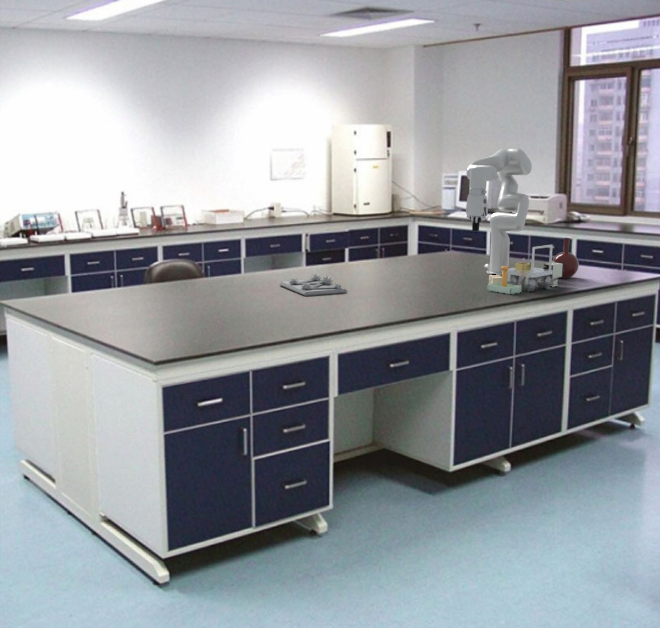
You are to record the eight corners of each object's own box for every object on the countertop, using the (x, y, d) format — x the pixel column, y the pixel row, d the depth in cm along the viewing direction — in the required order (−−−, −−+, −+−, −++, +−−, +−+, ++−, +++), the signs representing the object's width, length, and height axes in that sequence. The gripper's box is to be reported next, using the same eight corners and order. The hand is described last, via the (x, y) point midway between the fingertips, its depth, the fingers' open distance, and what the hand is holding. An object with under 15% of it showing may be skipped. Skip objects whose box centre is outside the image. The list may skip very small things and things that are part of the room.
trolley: (501, 288, 414) (504, 243, 409) (522, 284, 424) (524, 241, 420) (532, 293, 401) (534, 247, 397) (552, 289, 412) (555, 244, 408)
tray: (486, 290, 406) (487, 284, 406) (497, 288, 412) (498, 282, 411) (510, 294, 397) (510, 288, 396) (521, 292, 402) (521, 286, 402)
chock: (488, 284, 424) (489, 275, 423) (499, 284, 424) (499, 275, 423) (492, 287, 416) (492, 277, 416) (502, 287, 417) (503, 277, 416)
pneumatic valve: (563, 285, 421) (565, 261, 418) (549, 288, 413) (550, 263, 411) (553, 284, 425) (555, 259, 422) (539, 287, 417) (540, 261, 415)
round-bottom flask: (583, 279, 441) (586, 239, 437) (564, 281, 435) (567, 240, 430) (564, 275, 452) (566, 236, 448) (545, 277, 446) (547, 237, 442)
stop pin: (498, 290, 404) (499, 266, 402) (503, 289, 406) (504, 265, 404) (504, 291, 402) (505, 267, 399) (509, 290, 404) (510, 266, 402)
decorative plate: (278, 286, 415) (278, 271, 413) (320, 283, 424) (320, 269, 422) (304, 297, 388) (304, 281, 387) (348, 294, 397) (348, 278, 396)
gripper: (494, 193, 416) (492, 231, 420) (469, 191, 427) (468, 229, 431) (484, 193, 411) (483, 232, 415) (459, 191, 422) (458, 230, 426)
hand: (475, 230), depth 423 cm, fingers closed
